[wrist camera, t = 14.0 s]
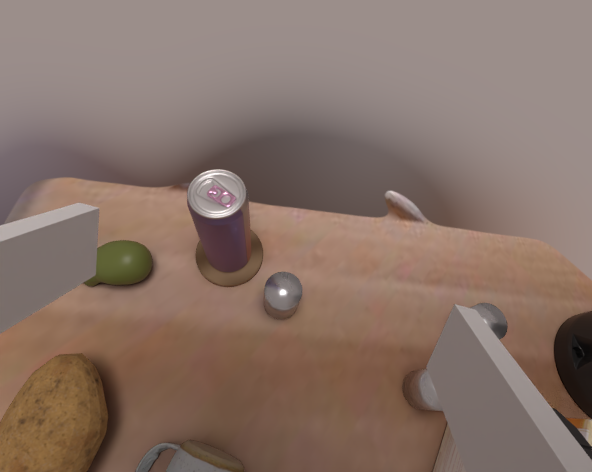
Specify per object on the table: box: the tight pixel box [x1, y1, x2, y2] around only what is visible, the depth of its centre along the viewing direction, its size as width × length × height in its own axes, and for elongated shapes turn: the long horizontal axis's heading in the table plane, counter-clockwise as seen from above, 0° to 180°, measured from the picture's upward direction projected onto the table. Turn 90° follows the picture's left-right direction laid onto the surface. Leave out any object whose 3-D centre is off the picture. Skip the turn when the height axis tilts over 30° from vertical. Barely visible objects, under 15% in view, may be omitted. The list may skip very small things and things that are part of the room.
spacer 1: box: [264, 272, 302, 320], centre depth 42 cm, size 4×4×6 cm
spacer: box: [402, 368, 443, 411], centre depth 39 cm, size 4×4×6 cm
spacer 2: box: [471, 303, 507, 339], centre depth 43 cm, size 4×4×6 cm
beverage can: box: [187, 169, 251, 272], centre depth 39 cm, size 6×6×15 cm
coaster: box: [196, 230, 263, 287], centre depth 47 cm, size 9×9×1 cm
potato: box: [0, 353, 108, 472], centre depth 33 cm, size 10×14×8 cm
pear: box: [84, 240, 152, 286], centre depth 43 cm, size 6×5×10 cm
